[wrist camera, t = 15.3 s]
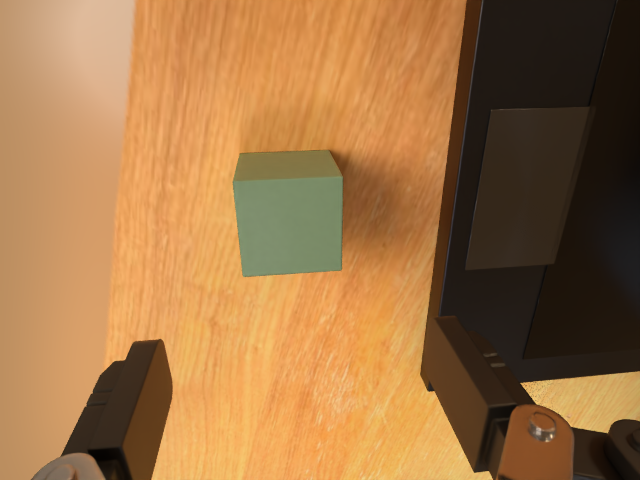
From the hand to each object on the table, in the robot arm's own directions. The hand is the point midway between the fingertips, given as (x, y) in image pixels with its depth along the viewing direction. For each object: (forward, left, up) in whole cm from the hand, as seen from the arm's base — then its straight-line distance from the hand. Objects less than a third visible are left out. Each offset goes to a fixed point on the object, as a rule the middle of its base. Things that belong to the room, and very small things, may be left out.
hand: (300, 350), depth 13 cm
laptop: (+20, 0, -13) cm, 24 cm away
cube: (0, 0, -13) cm, 13 cm away
